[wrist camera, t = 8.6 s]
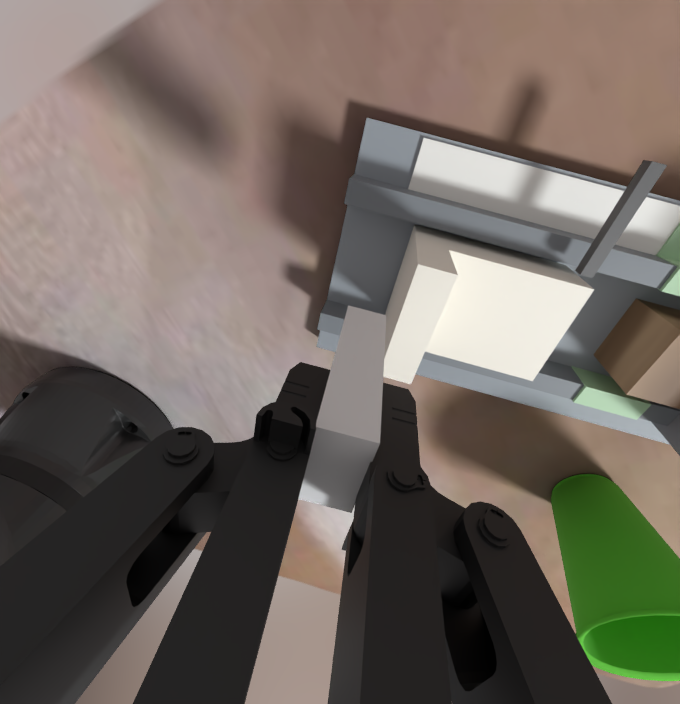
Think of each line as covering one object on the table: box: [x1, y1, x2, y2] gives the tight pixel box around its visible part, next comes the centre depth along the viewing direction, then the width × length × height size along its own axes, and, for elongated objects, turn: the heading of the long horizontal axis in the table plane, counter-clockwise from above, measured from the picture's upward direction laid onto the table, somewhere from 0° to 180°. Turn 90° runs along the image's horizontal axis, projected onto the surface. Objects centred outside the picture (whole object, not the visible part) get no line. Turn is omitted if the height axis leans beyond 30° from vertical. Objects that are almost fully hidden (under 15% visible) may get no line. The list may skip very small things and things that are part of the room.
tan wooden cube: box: [593, 298, 680, 409], centre depth 19 cm, size 4×4×4 cm
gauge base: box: [317, 118, 680, 455], centre depth 19 cm, size 26×14×8 cm, turn 77°
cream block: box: [383, 160, 667, 384], centre depth 17 cm, size 9×11×7 cm
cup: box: [551, 474, 680, 681], centre depth 26 cm, size 9×9×11 cm
